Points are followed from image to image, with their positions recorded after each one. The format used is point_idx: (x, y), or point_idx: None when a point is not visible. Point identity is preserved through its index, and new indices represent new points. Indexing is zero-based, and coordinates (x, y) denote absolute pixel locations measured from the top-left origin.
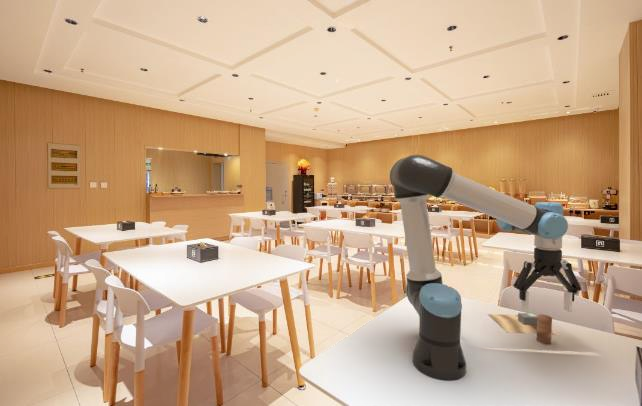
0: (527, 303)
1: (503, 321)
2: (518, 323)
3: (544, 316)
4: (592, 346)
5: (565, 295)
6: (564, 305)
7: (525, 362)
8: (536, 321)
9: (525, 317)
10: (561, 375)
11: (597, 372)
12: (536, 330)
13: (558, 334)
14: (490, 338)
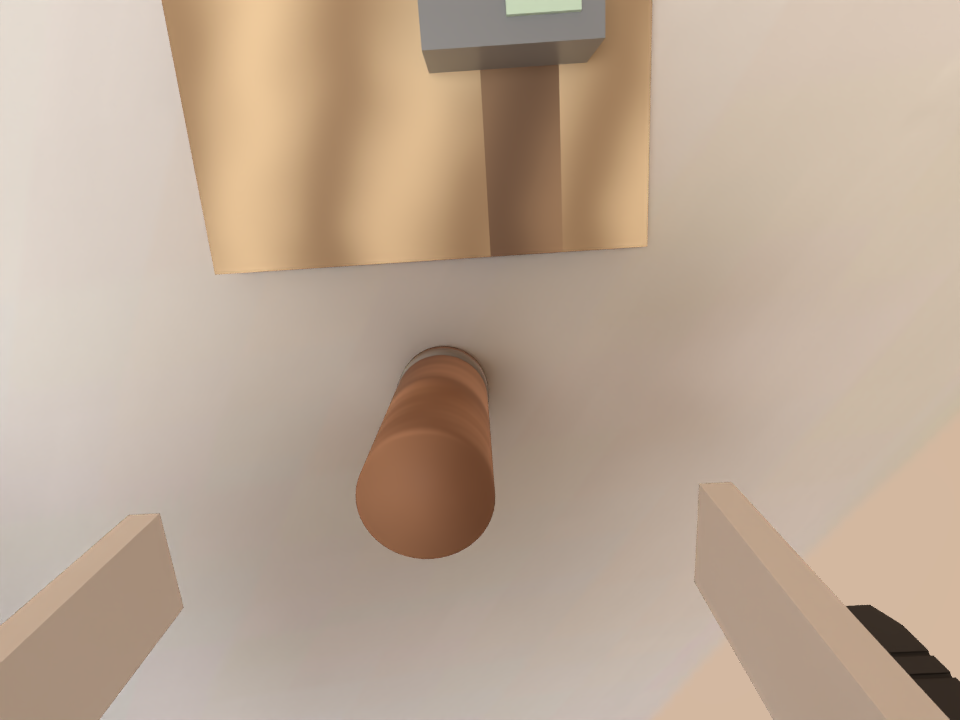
0: (99, 697)
1: (254, 16)
2: (389, 47)
3: (429, 487)
4: (799, 334)
5: (826, 686)
6: (723, 530)
7: (239, 596)
8: (554, 54)
9: (438, 50)
10: (377, 677)
11: (584, 626)
12: (490, 192)
13: (640, 241)
14: (94, 332)
